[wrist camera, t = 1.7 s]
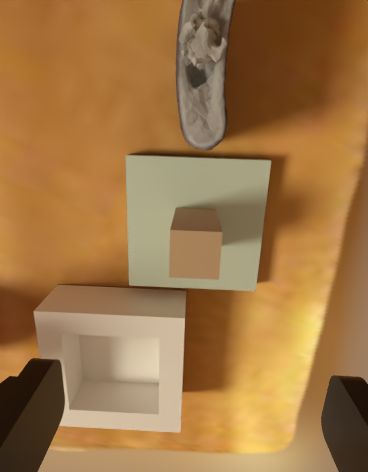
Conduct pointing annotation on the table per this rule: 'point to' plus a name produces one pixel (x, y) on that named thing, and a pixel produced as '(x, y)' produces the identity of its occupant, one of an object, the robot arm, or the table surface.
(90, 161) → the table surface
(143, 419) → the dish
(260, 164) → the lid
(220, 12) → the flask
